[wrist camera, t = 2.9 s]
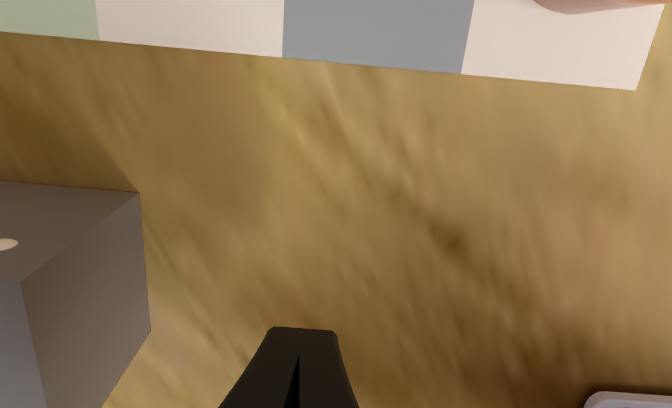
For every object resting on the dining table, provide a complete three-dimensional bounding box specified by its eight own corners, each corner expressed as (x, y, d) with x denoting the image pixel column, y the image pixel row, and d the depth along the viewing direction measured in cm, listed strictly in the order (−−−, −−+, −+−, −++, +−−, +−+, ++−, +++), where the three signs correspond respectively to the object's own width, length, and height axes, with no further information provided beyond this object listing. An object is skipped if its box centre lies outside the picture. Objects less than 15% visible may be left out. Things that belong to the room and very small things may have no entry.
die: (139, 188, 11) (14, 280, 7) (152, 329, 13) (57, 474, 8) (-36, 172, 11) (-277, 256, 7) (-1, 317, 13) (-176, 459, 8)
